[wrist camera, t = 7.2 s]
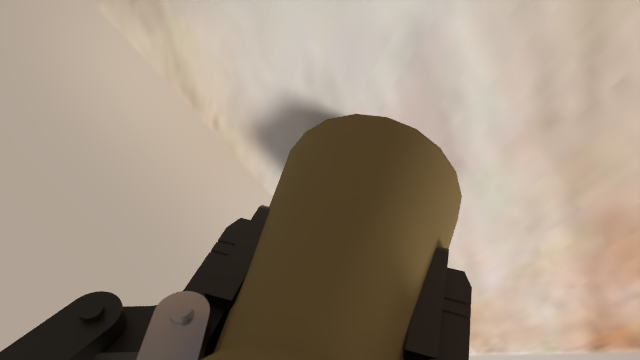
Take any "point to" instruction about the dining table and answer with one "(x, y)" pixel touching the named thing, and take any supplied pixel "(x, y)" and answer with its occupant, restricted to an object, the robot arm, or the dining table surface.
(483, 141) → the dining table surface
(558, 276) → the dining table surface
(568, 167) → the dining table surface
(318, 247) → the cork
